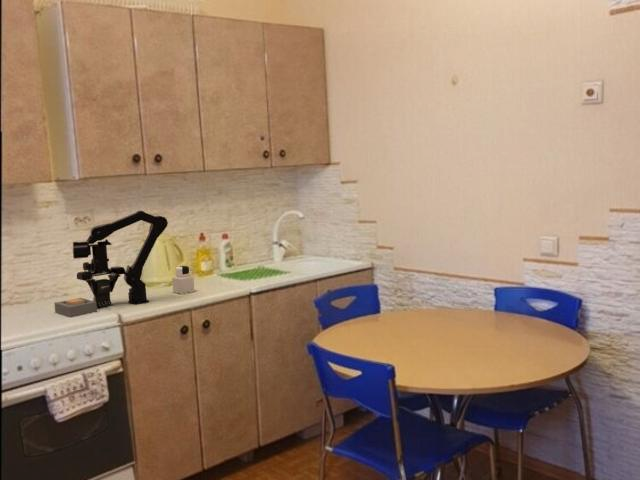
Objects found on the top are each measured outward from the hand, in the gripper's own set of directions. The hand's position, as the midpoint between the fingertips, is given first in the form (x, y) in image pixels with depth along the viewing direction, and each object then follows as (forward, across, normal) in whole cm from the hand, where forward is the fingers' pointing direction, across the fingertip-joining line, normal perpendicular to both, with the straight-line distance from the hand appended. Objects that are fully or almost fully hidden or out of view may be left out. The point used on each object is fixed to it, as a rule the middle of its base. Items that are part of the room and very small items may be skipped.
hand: (102, 293), depth 254 cm
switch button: (+3, +12, 0) cm, 12 cm away
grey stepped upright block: (+6, -37, +3) cm, 38 cm away
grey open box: (+6, +12, 0) cm, 13 cm away
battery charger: (+6, 0, 0) cm, 6 cm away
